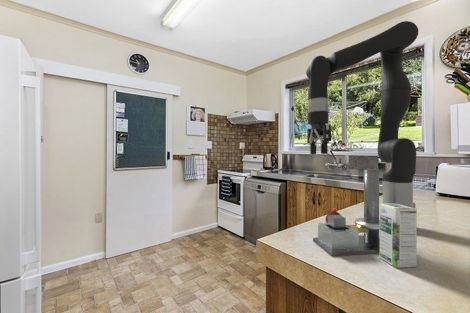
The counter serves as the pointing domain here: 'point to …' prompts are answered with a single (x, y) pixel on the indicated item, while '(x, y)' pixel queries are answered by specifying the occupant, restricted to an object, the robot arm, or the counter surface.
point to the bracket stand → (356, 225)
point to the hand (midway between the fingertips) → (318, 154)
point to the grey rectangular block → (336, 222)
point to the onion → (332, 214)
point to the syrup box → (398, 235)
